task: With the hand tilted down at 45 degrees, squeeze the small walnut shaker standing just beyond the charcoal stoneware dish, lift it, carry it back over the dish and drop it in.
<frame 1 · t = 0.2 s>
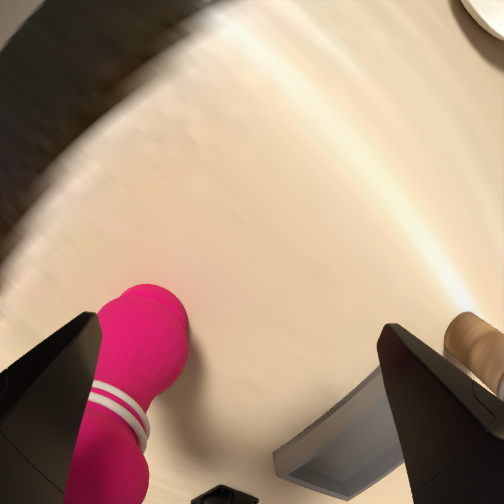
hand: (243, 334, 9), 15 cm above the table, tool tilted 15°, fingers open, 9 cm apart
spoon rest: (499, 2, 20), on the table
shaker: (460, 332, 28), on the table
dish: (367, 427, 30), on the table
pepper mill: (151, 317, 25), on the table
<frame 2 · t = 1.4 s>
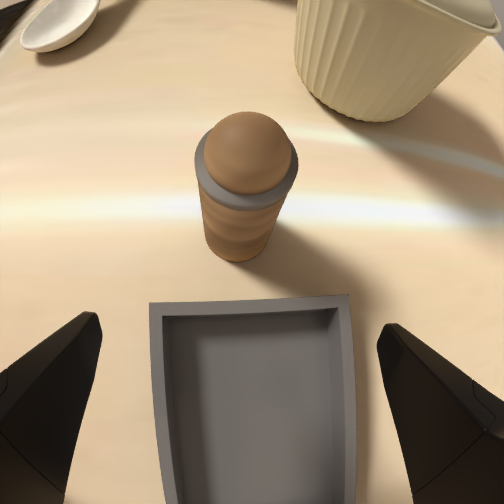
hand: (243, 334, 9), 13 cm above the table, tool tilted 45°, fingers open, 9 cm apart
spoon rest: (88, 15, 32), on the table
shaker: (236, 231, 24), on the table
dish: (254, 425, 20), on the table
canister: (350, 85, 31), on the table
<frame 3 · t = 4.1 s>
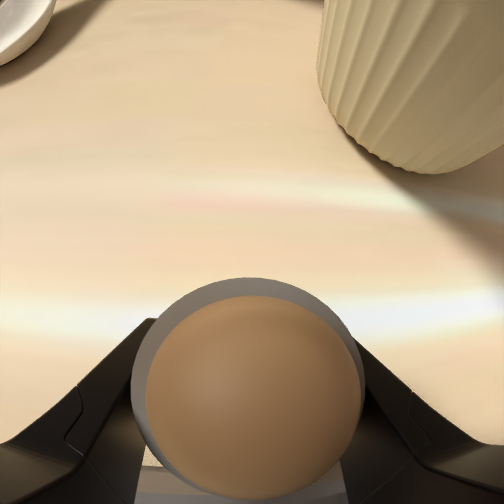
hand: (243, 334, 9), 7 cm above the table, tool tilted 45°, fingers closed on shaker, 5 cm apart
spoon rest: (49, 17, 24), on the table
shaker: (233, 365, 16), on the table, touching gripper
canister: (391, 113, 22), on the table
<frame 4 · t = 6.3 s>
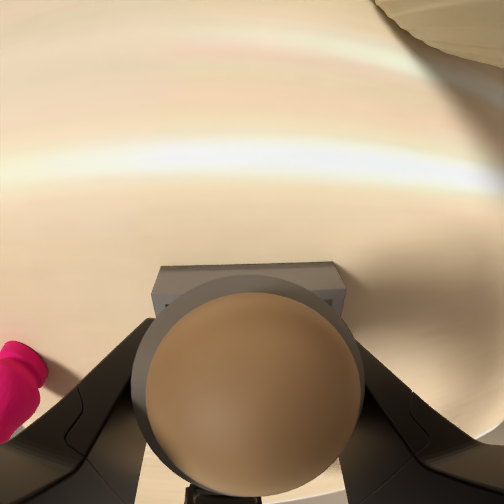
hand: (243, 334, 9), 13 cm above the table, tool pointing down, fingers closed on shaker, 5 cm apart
shaker: (233, 363, 16), point 9 cm above the table, tilted 45°, touching gripper
dish: (248, 350, 27), on the table
pepper mill: (26, 359, 28), on the table
when the fingers open (10 cm above the table, at t = 7.9 s): shaker drops 3 cm and tips over, resting on dish.
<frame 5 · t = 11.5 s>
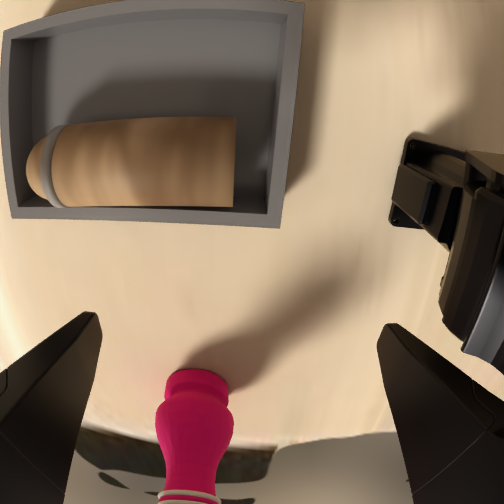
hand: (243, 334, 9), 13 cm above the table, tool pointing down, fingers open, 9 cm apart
shaker: (234, 161, 17), point 3 cm above the table, tilted 90°, touching dish
dish: (141, 106, 18), on the table
pepper mill: (197, 386, 30), on the table
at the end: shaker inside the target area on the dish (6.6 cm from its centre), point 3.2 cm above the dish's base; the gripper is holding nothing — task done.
